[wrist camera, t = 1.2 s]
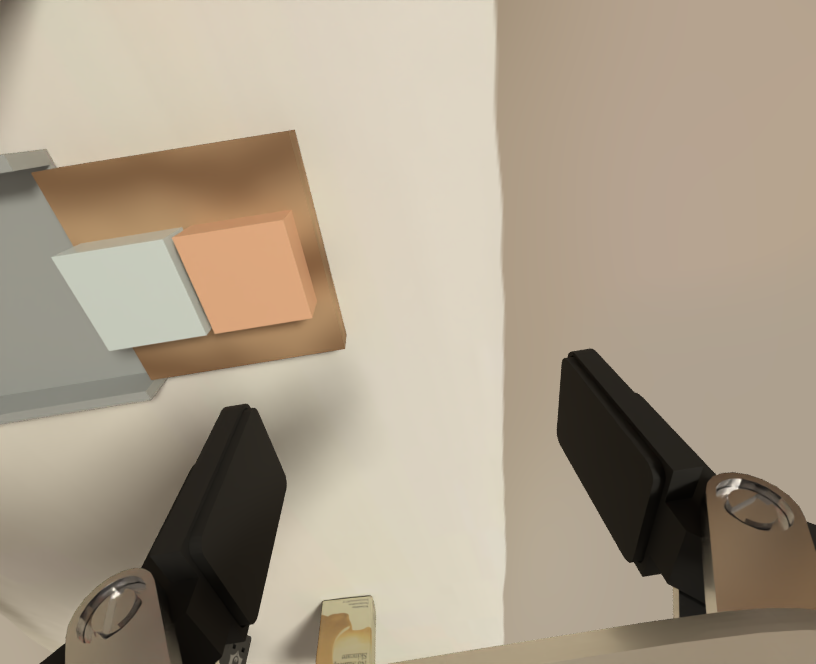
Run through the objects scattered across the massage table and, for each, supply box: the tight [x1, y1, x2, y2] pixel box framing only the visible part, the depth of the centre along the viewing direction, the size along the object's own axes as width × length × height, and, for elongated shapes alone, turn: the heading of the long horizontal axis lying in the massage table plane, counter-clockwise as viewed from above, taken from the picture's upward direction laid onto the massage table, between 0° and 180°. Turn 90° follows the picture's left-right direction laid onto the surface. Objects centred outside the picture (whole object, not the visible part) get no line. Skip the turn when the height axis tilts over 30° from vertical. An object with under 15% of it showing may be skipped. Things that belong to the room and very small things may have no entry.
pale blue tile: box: [51, 227, 212, 351], centre depth 23 cm, size 6×6×2 cm
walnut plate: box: [31, 130, 346, 380], centre depth 25 cm, size 14×14×2 cm
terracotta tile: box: [172, 210, 317, 334], centre depth 23 cm, size 6×6×2 cm
